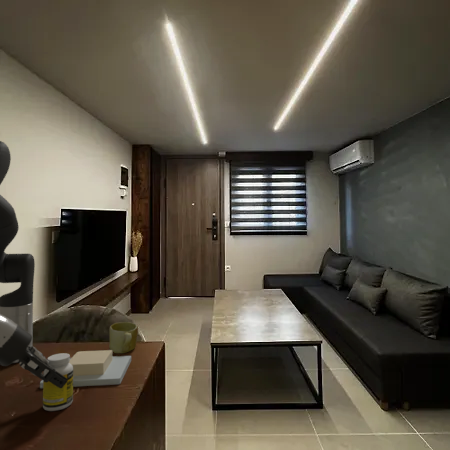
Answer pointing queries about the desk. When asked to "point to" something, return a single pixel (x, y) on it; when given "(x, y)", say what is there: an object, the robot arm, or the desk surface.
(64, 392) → the pill bottle
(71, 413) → the desk surface
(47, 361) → the robot arm
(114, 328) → the mug
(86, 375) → the board
